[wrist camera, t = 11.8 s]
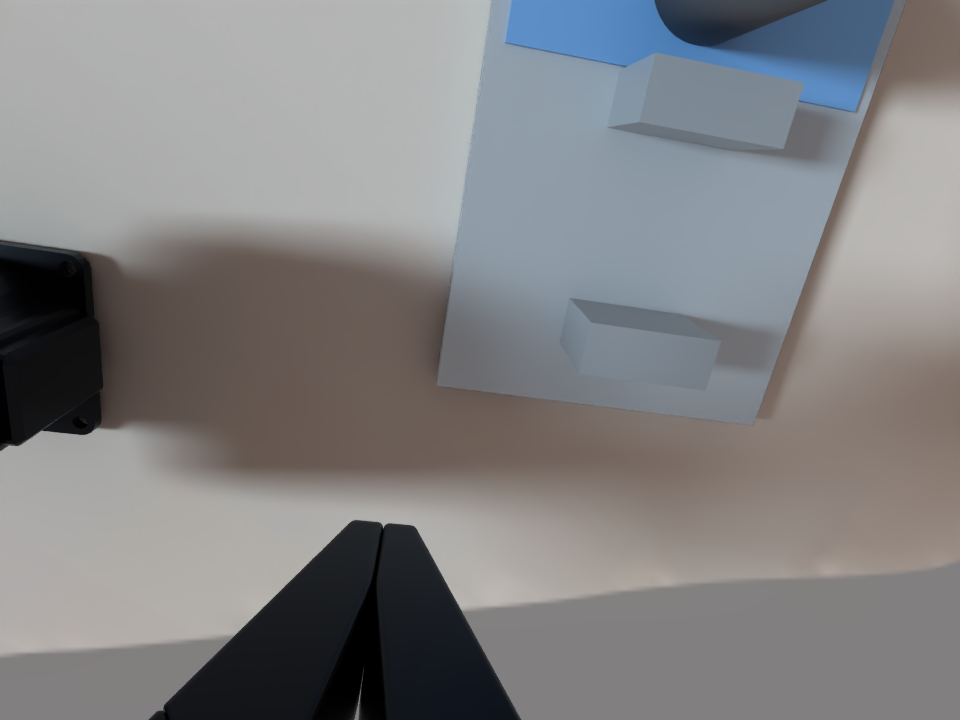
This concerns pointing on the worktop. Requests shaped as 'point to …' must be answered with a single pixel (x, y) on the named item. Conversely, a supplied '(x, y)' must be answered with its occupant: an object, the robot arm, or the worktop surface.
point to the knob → (723, 17)
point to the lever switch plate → (649, 201)
